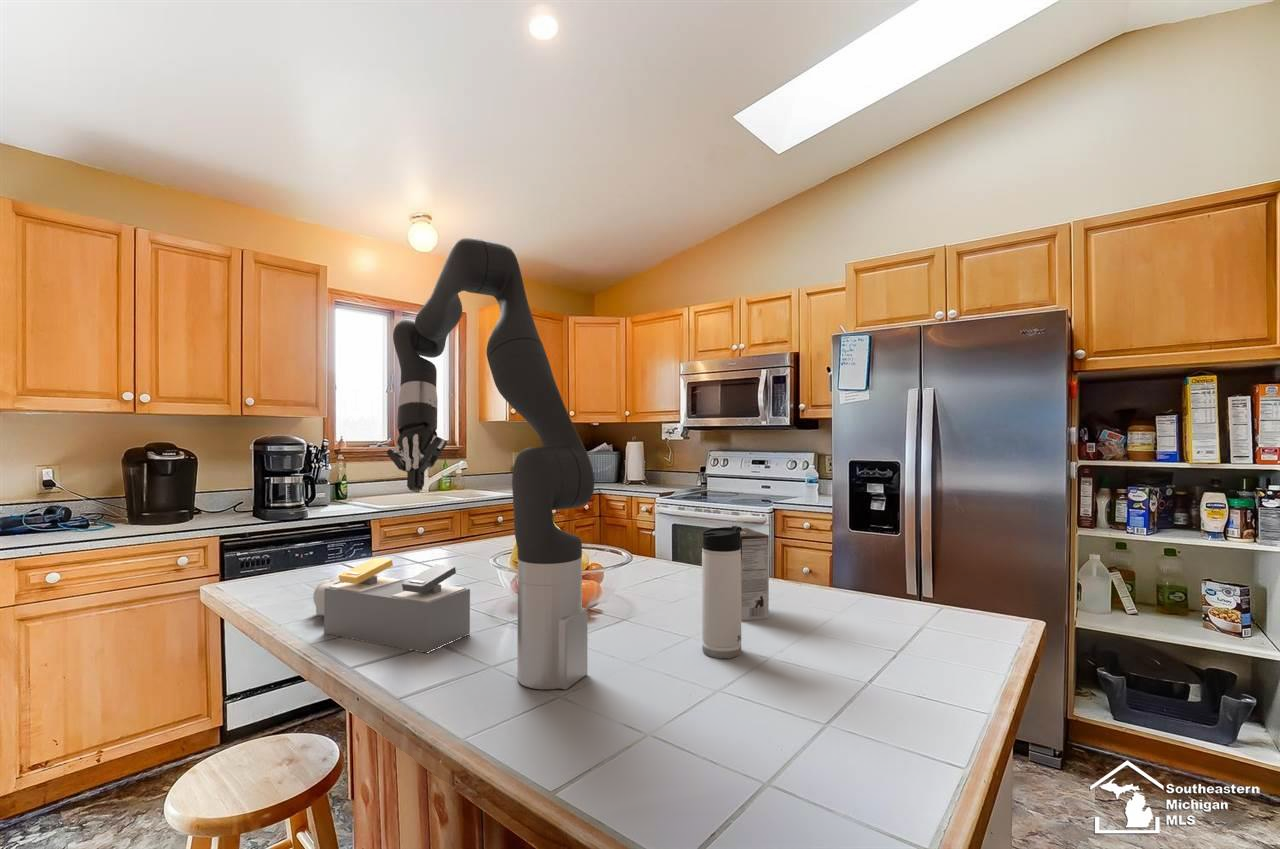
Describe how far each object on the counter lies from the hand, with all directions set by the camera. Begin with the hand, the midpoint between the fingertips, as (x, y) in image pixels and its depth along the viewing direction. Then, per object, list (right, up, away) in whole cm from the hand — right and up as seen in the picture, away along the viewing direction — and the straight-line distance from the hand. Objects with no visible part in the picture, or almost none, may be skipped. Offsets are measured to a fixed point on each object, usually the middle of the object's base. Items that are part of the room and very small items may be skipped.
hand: (415, 490), depth 113 cm
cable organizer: (-14, -25, +4) cm, 29 cm away
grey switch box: (0, -24, -9) cm, 26 cm away
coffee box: (+64, -25, +3) cm, 68 cm away
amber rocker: (-7, -14, -6) cm, 17 cm away
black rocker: (+7, -14, -12) cm, 20 cm away
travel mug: (+57, -24, -18) cm, 64 cm away
